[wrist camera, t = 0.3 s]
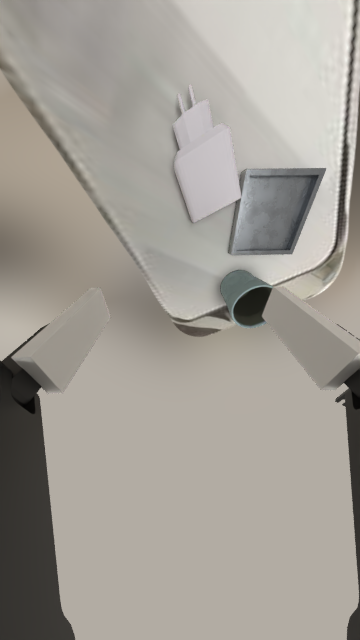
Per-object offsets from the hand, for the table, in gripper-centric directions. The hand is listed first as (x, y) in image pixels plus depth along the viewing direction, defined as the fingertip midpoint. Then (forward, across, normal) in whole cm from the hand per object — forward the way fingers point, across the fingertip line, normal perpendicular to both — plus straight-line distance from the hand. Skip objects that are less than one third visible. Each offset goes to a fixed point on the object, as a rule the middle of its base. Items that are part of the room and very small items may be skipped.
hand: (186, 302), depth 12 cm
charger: (+28, +3, +13) cm, 31 cm away
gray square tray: (+27, +18, +5) cm, 33 cm away
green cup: (+27, +15, -10) cm, 33 cm away
